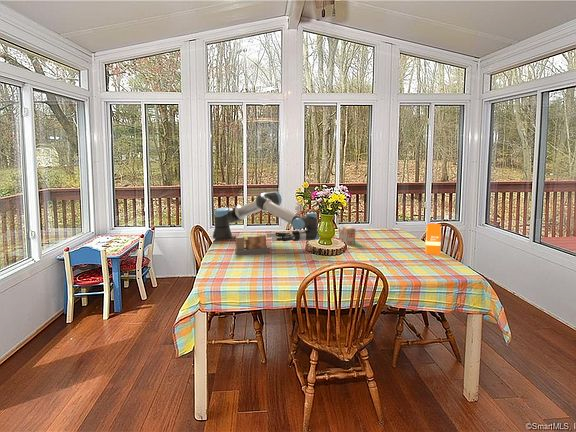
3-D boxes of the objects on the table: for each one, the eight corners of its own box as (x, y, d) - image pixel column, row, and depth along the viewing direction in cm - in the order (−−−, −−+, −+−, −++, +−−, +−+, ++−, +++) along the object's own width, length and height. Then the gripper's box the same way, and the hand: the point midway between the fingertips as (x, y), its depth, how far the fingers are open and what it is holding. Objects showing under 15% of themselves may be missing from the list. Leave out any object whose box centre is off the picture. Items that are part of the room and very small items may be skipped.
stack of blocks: (338, 239, 351) (338, 223, 349) (346, 239, 352) (346, 223, 350) (347, 245, 330) (347, 228, 328) (355, 245, 331) (355, 228, 329)
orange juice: (440, 254, 300) (441, 224, 297) (426, 254, 302) (427, 224, 299) (438, 251, 308) (440, 222, 305) (425, 251, 310) (426, 222, 307)
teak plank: (246, 251, 305) (246, 237, 303) (245, 250, 309) (245, 236, 307) (266, 250, 309) (266, 236, 307) (264, 249, 313) (264, 234, 311)
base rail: (237, 255, 301) (237, 238, 299) (235, 252, 309) (234, 236, 308) (269, 252, 307) (269, 236, 305) (266, 249, 316) (266, 234, 314)
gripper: (304, 244, 306) (274, 246, 299) (293, 237, 329) (264, 239, 323) (304, 233, 304) (274, 235, 298) (293, 227, 328) (264, 228, 322)
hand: (269, 237), depth 311 cm, fingers open, 13 cm apart
